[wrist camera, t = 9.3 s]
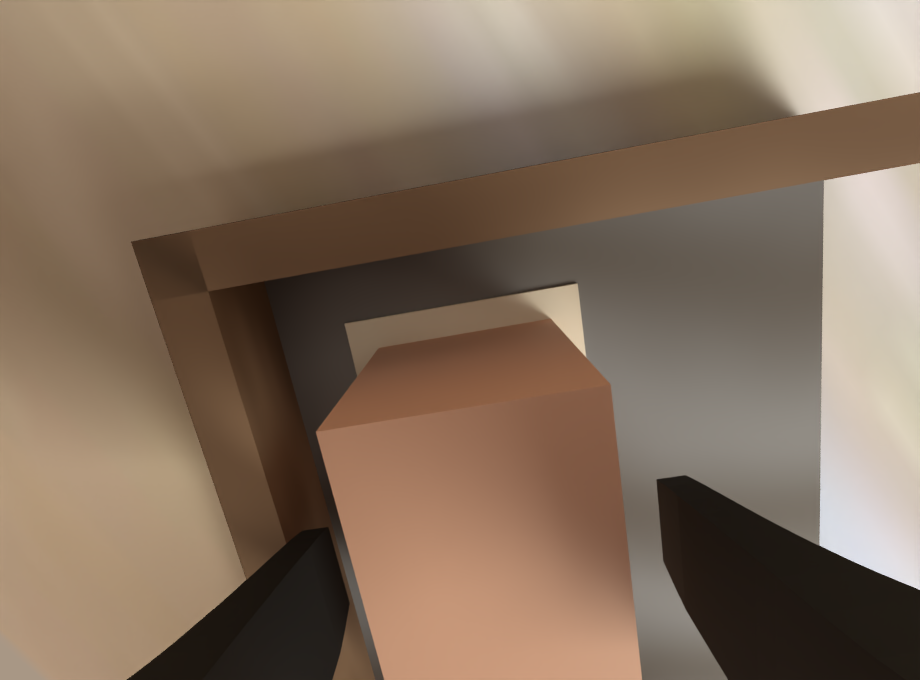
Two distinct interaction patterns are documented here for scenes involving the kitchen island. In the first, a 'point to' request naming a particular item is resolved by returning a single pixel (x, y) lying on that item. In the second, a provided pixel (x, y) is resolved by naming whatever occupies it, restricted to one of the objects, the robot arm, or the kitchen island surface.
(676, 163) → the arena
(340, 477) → the block
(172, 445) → the kitchen island surface
